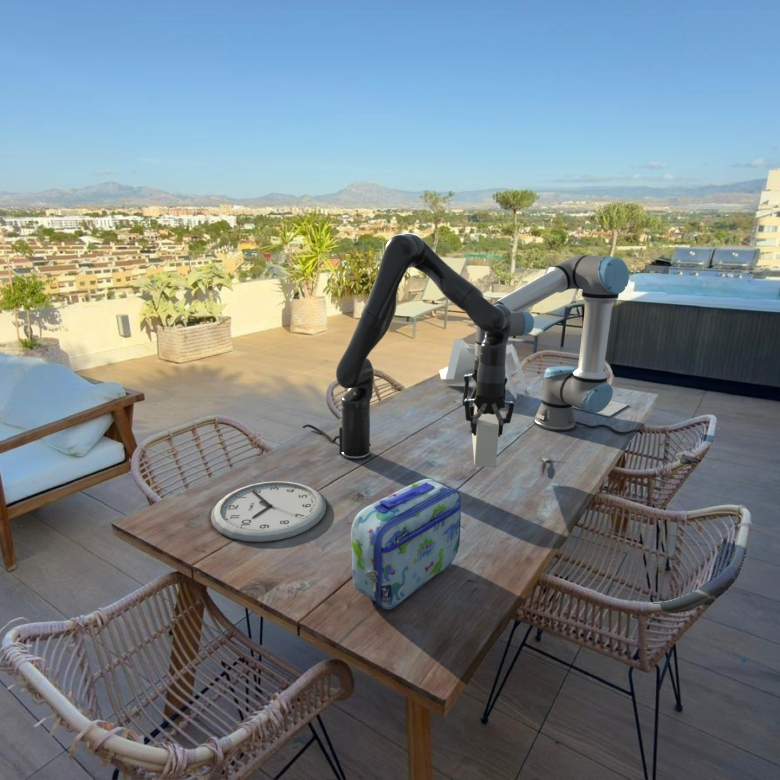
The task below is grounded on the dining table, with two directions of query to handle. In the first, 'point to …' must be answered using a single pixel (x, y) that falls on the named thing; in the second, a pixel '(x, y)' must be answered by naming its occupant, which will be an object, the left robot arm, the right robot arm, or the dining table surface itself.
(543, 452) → the fork
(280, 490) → the wall clock
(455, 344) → the white plastic object
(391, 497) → the lunch box
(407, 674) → the dining table surface
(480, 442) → the box
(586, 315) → the right robot arm
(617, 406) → the invitation card
